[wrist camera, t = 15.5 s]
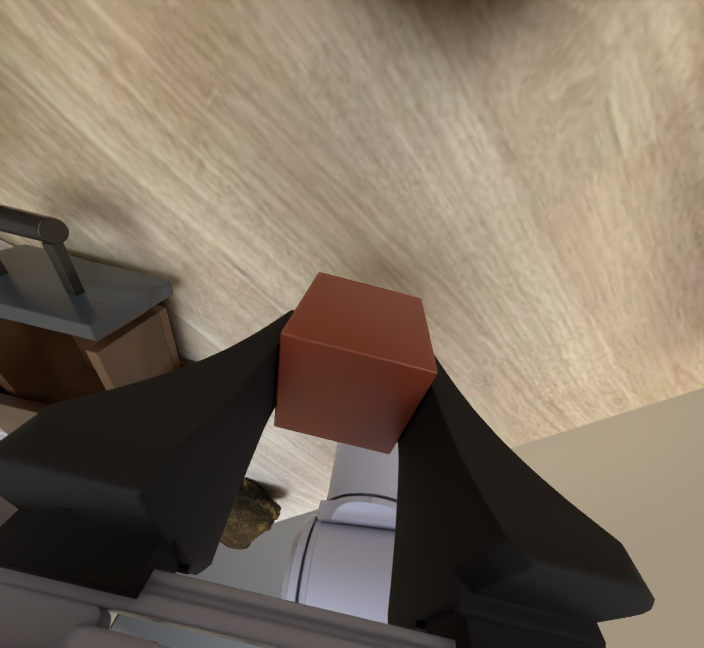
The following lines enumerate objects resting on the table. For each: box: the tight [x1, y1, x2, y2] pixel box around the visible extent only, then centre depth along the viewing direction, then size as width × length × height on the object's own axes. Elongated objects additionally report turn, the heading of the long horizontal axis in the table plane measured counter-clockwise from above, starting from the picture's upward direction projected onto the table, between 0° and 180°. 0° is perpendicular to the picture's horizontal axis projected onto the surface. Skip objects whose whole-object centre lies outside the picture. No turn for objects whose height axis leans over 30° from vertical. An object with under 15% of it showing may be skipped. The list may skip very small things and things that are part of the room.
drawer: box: [0, 205, 181, 405], centre depth 19 cm, size 17×11×6 cm, turn 168°
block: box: [274, 272, 438, 454], centre depth 10 cm, size 4×4×4 cm
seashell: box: [220, 479, 281, 549], centre depth 39 cm, size 16×9×7 cm, turn 133°
